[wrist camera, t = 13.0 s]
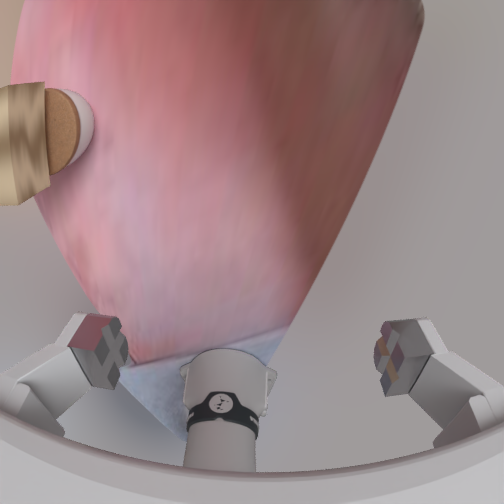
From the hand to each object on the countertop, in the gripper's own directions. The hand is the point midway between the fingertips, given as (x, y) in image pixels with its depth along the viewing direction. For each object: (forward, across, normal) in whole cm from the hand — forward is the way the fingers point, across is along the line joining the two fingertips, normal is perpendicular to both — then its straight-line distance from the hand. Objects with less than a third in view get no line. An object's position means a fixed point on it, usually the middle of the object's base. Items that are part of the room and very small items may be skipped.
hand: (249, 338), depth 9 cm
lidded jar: (+30, +25, -6) cm, 40 cm away
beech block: (+21, +25, -6) cm, 33 cm away
